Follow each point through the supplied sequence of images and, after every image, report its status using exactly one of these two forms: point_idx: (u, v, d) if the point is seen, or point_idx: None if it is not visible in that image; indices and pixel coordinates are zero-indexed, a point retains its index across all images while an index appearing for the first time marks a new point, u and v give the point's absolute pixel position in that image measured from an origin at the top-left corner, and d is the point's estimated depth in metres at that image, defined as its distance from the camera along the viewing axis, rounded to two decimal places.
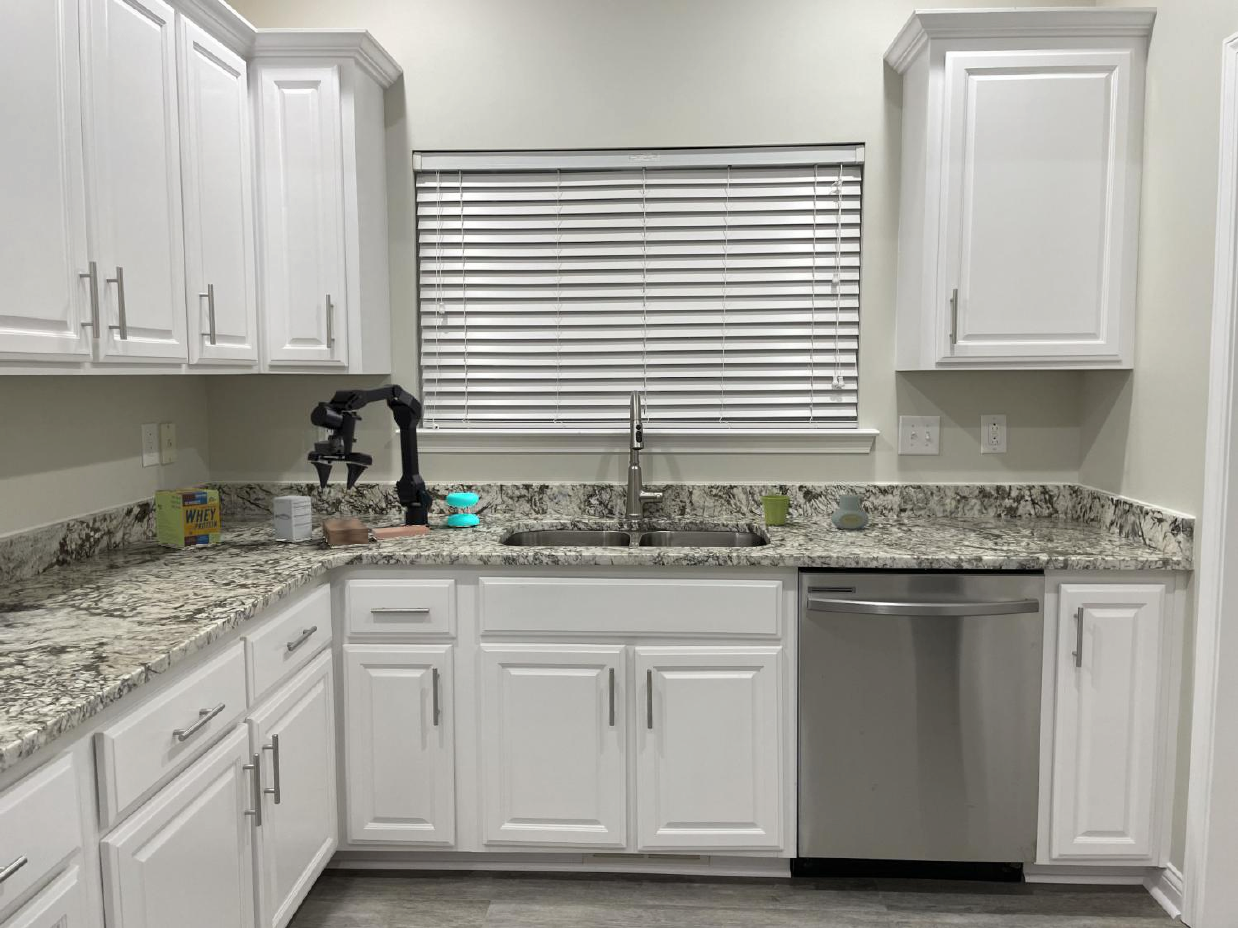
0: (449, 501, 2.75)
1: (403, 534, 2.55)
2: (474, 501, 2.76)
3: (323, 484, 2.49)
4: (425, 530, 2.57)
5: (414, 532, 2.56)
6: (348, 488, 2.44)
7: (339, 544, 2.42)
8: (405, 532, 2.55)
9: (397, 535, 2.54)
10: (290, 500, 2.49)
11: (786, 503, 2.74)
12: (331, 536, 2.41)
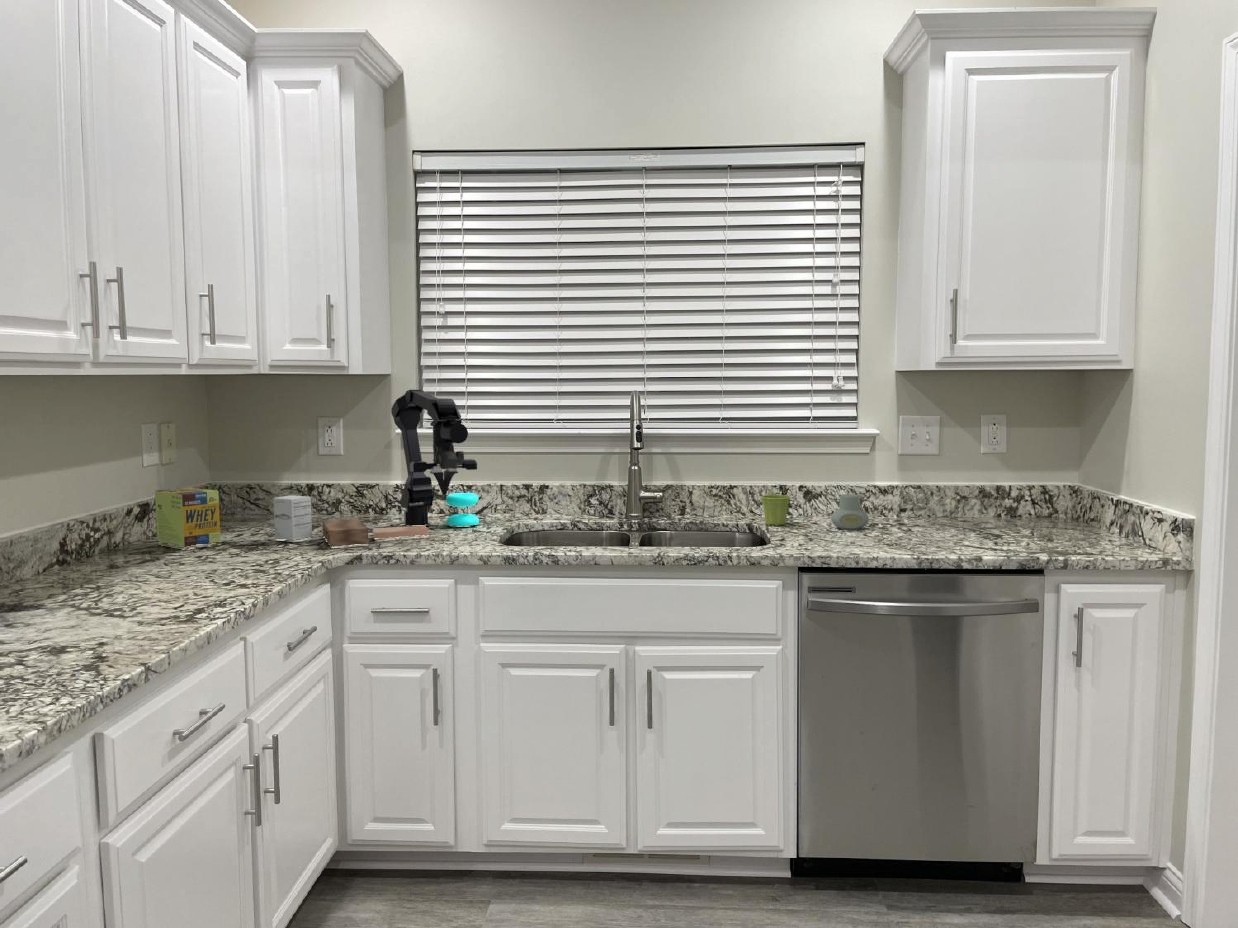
0: (449, 501, 2.75)
1: (402, 534, 2.54)
2: (474, 501, 2.76)
3: None
4: (424, 530, 2.56)
5: (413, 532, 2.55)
6: (446, 493, 2.63)
7: (339, 544, 2.42)
8: (404, 532, 2.55)
9: (395, 535, 2.54)
10: (290, 500, 2.49)
11: (786, 503, 2.74)
12: (331, 536, 2.41)
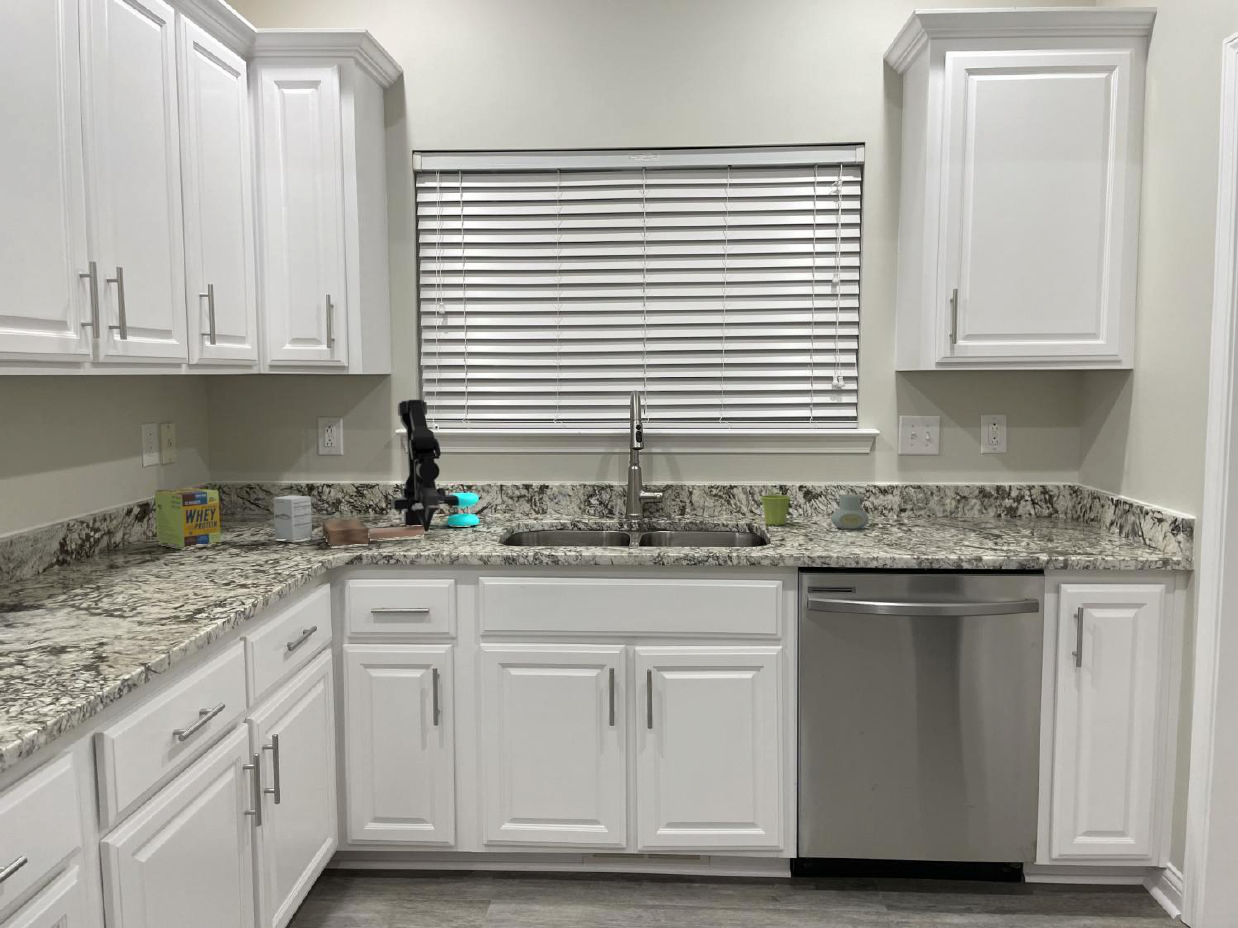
0: None
1: (397, 534, 2.54)
2: (474, 501, 2.76)
3: None
4: (420, 531, 2.55)
5: (409, 533, 2.55)
6: (427, 530, 2.61)
7: (339, 544, 2.42)
8: (399, 532, 2.54)
9: (391, 536, 2.53)
10: (290, 500, 2.49)
11: (786, 503, 2.74)
12: (331, 536, 2.41)
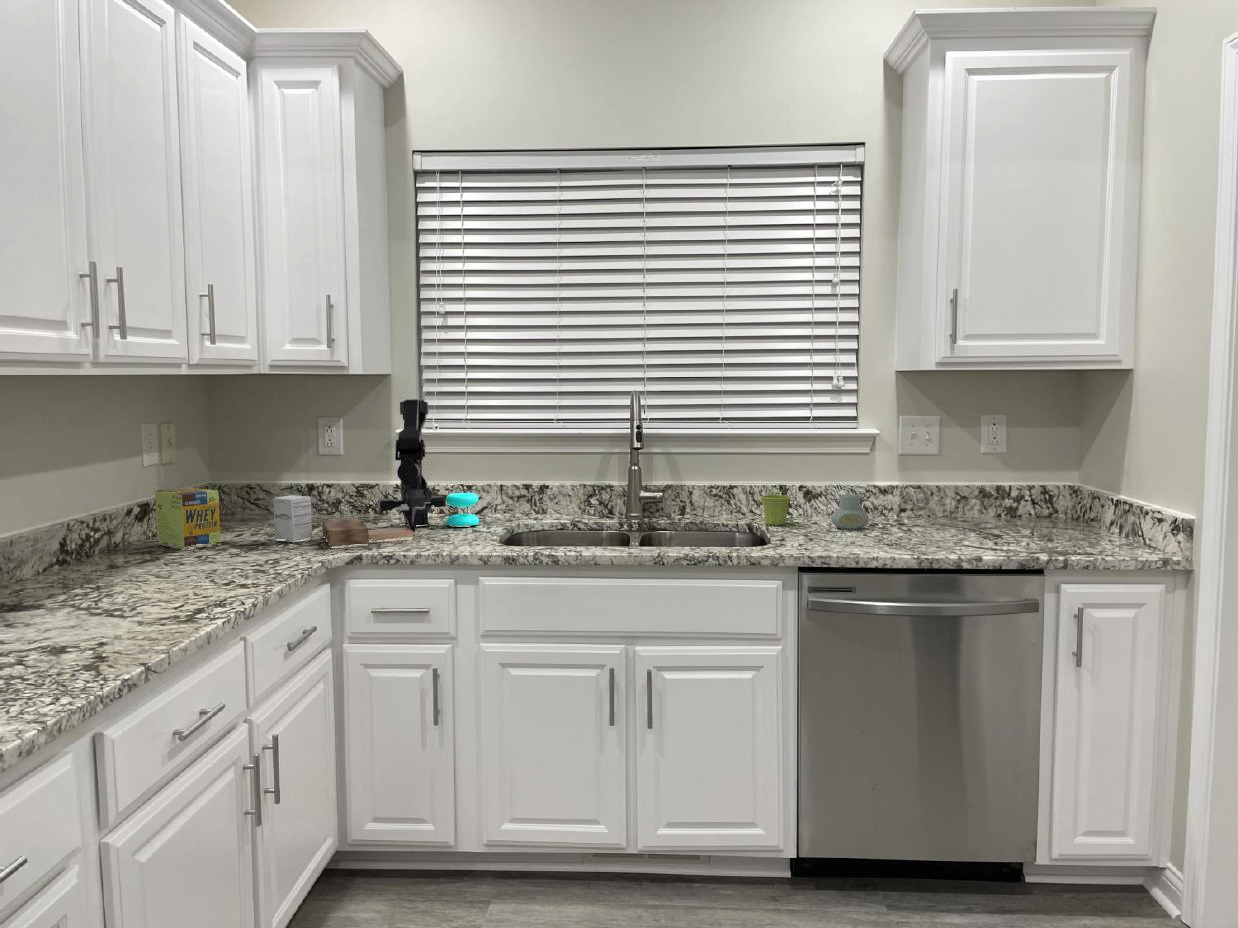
0: (449, 501, 2.75)
1: (386, 536, 2.51)
2: (474, 501, 2.76)
3: None
4: (409, 532, 2.54)
5: (398, 534, 2.53)
6: None
7: (339, 544, 2.42)
8: (388, 534, 2.52)
9: (380, 537, 2.51)
10: (290, 500, 2.49)
11: (786, 503, 2.74)
12: (331, 536, 2.41)
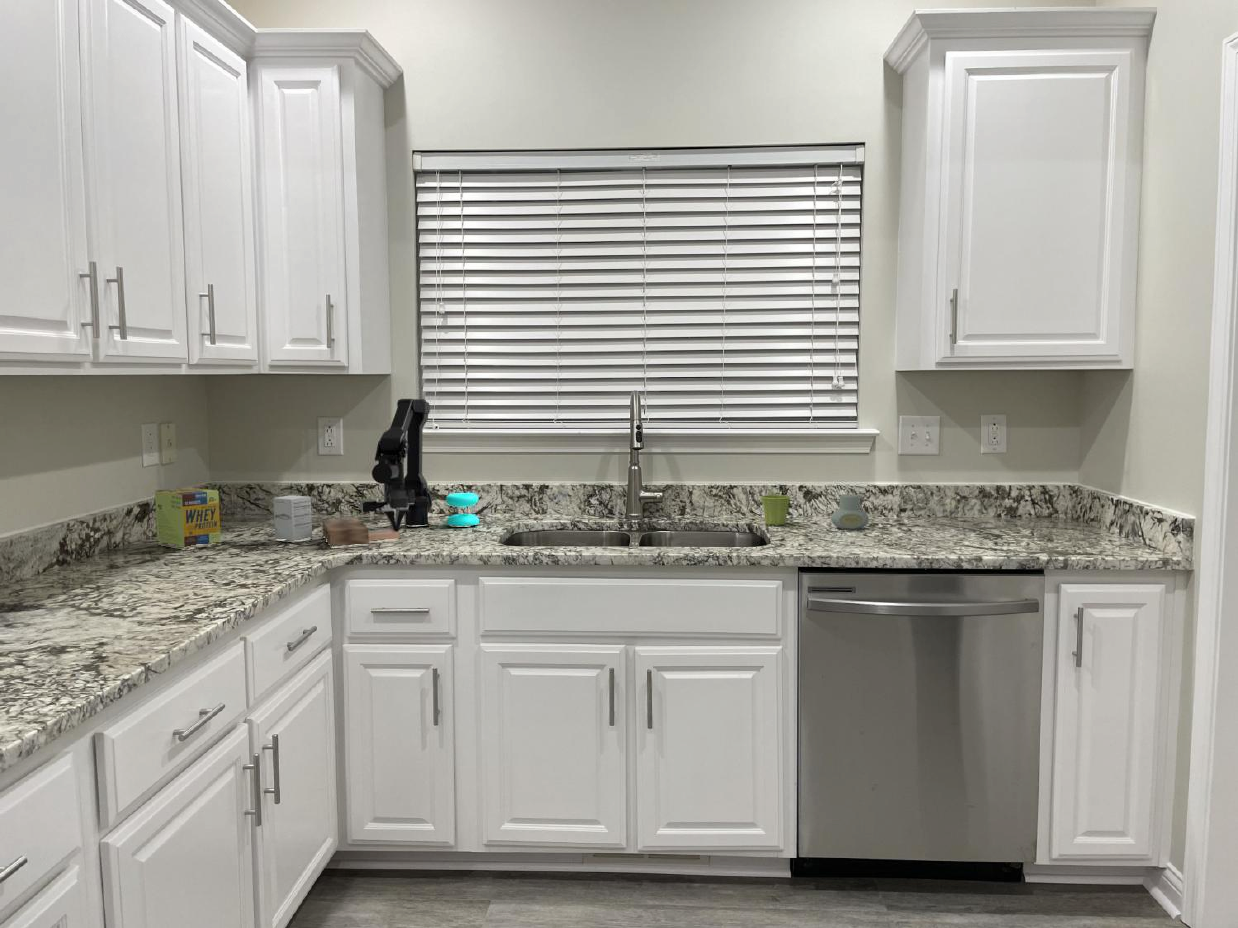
0: (449, 501, 2.75)
1: (373, 538, 2.49)
2: (474, 501, 2.76)
3: None
4: (394, 533, 2.52)
5: (384, 536, 2.50)
6: None
7: (339, 544, 2.42)
8: (375, 536, 2.49)
9: None
10: (290, 500, 2.49)
11: (786, 503, 2.74)
12: (331, 536, 2.41)
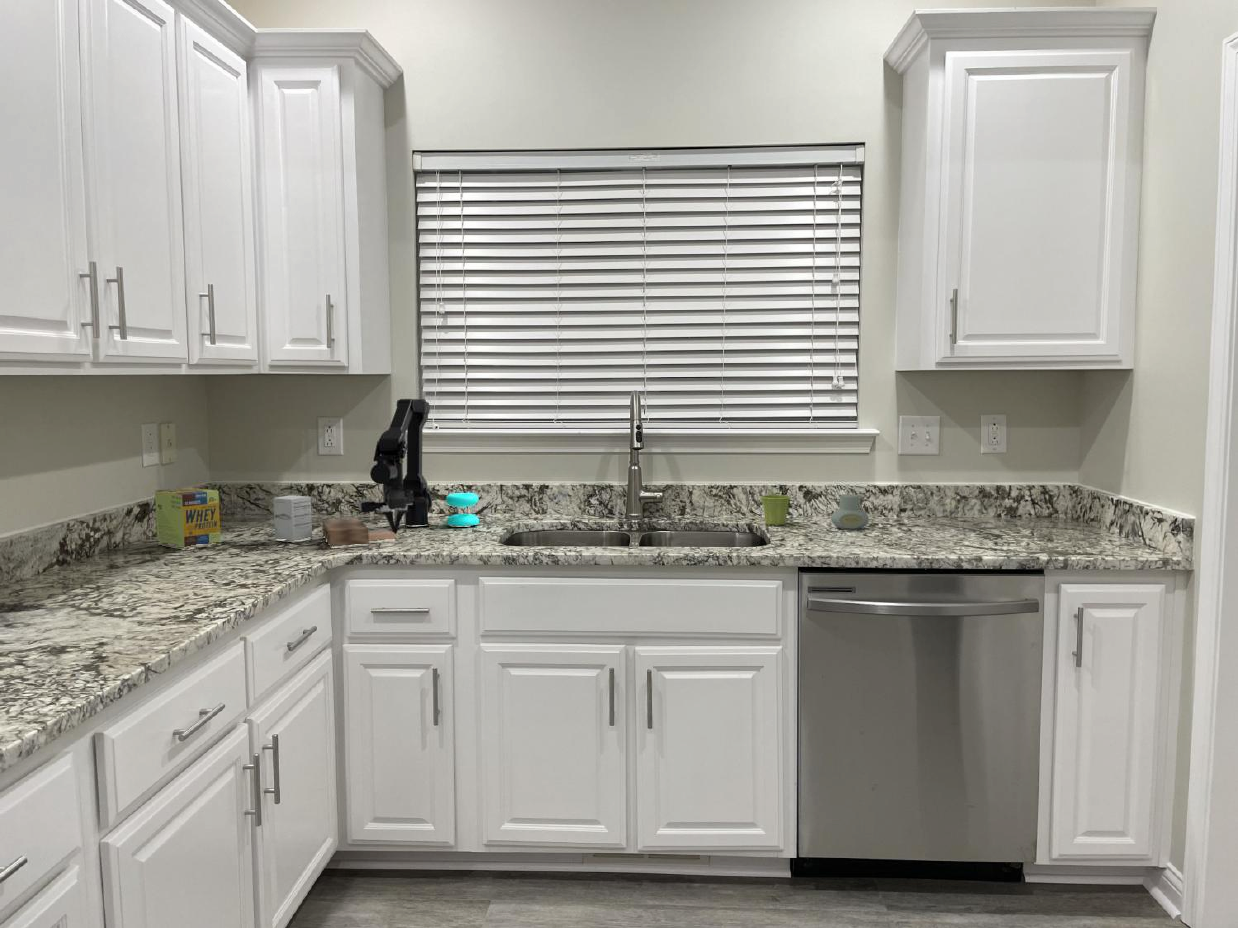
0: (449, 501, 2.75)
1: None
2: (474, 501, 2.76)
3: None
4: (390, 534, 2.51)
5: (380, 536, 2.50)
6: None
7: (339, 544, 2.42)
8: (370, 536, 2.48)
9: None
10: (290, 500, 2.49)
11: (786, 503, 2.74)
12: (331, 536, 2.41)
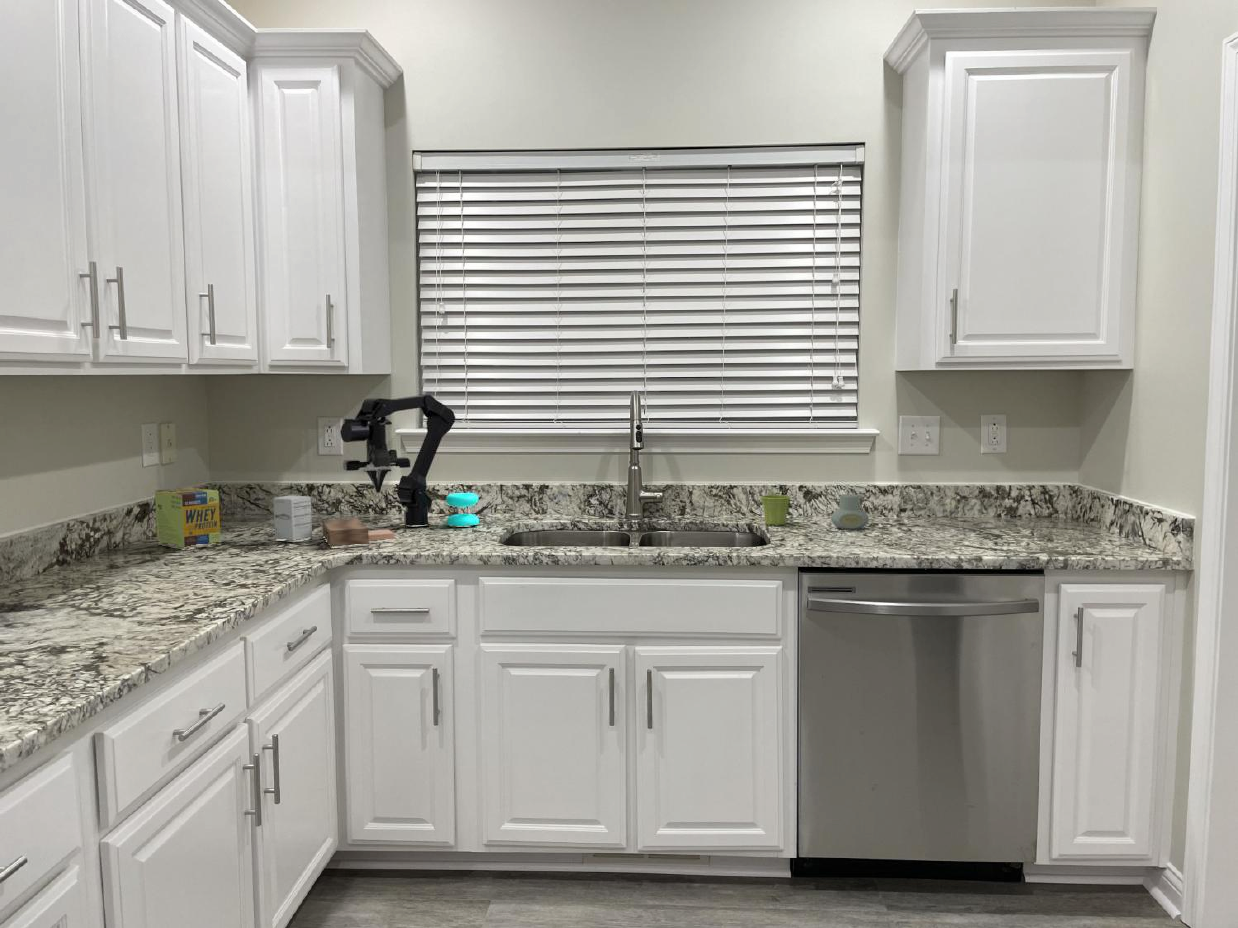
0: (449, 501, 2.75)
1: None
2: (474, 501, 2.76)
3: None
4: (389, 534, 2.50)
5: (379, 536, 2.49)
6: (379, 491, 2.67)
7: (339, 544, 2.42)
8: (369, 536, 2.48)
9: None
10: (290, 500, 2.49)
11: (786, 503, 2.74)
12: (331, 536, 2.41)
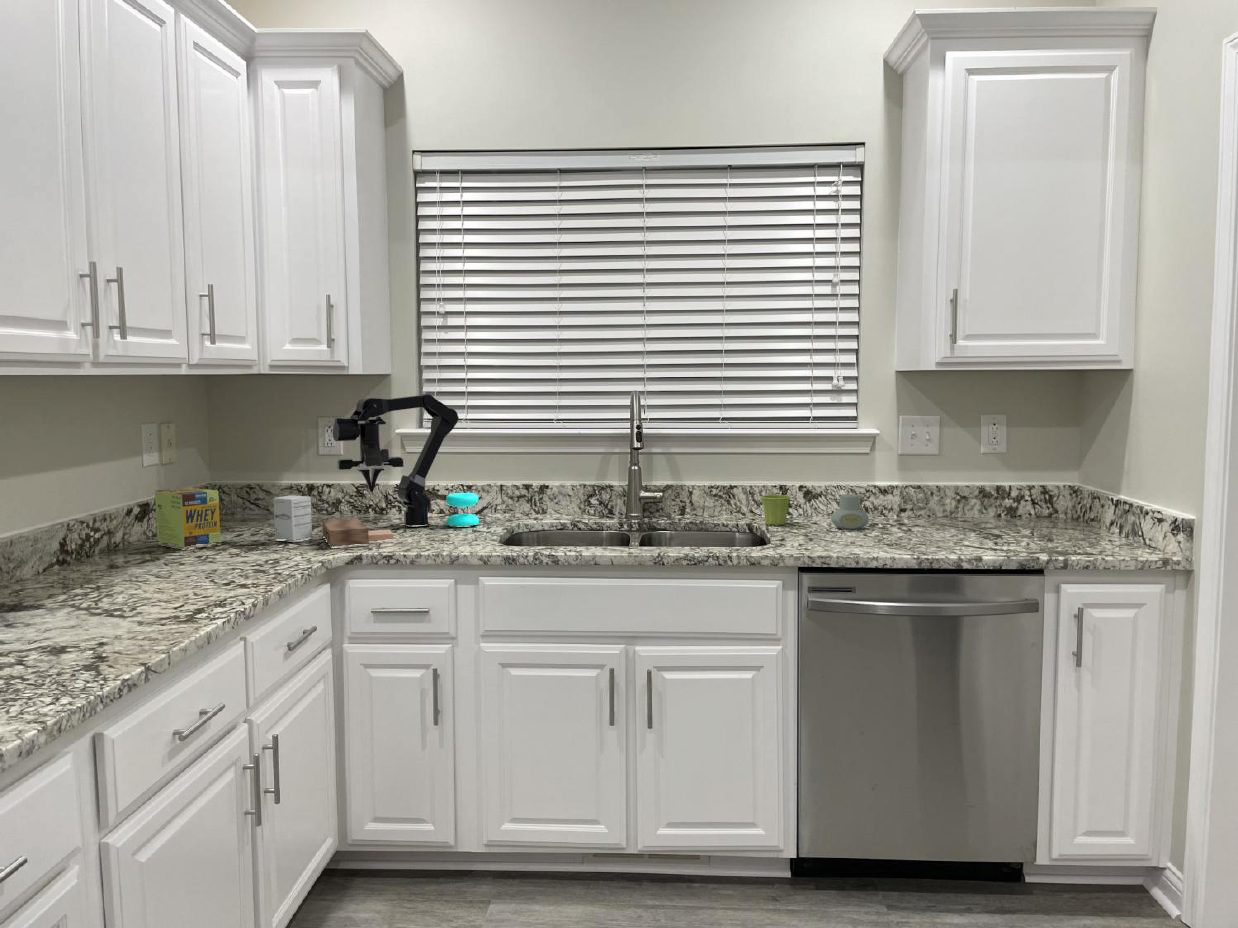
0: (449, 501, 2.75)
1: None
2: (474, 501, 2.76)
3: None
4: (388, 535, 2.50)
5: (377, 537, 2.49)
6: None
7: (339, 544, 2.42)
8: None
9: None
10: (290, 500, 2.49)
11: (786, 503, 2.74)
12: (331, 536, 2.41)
